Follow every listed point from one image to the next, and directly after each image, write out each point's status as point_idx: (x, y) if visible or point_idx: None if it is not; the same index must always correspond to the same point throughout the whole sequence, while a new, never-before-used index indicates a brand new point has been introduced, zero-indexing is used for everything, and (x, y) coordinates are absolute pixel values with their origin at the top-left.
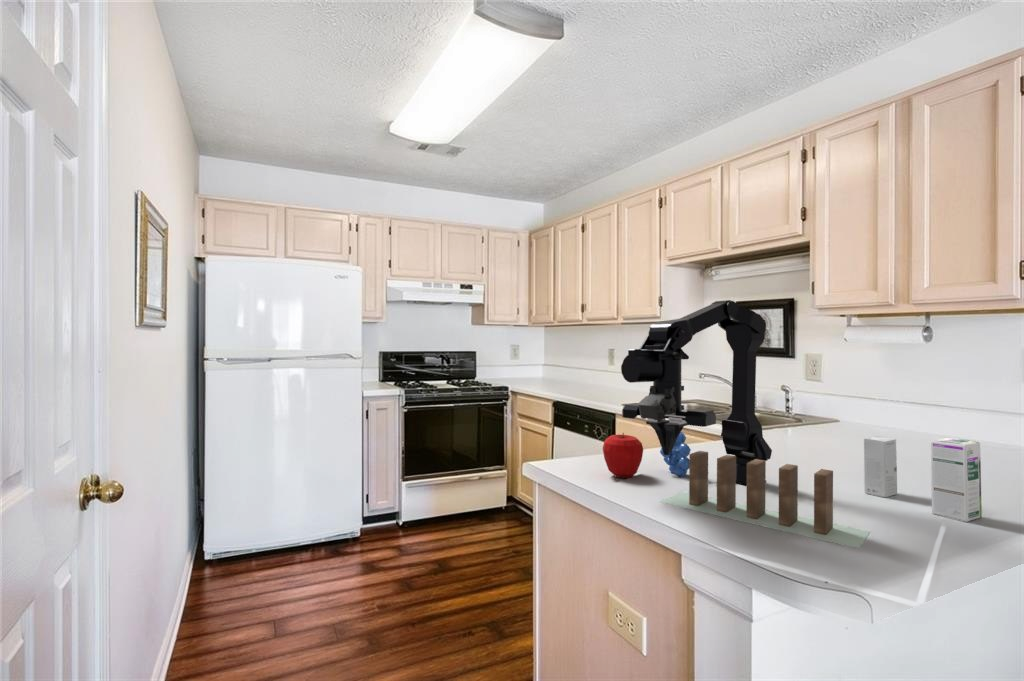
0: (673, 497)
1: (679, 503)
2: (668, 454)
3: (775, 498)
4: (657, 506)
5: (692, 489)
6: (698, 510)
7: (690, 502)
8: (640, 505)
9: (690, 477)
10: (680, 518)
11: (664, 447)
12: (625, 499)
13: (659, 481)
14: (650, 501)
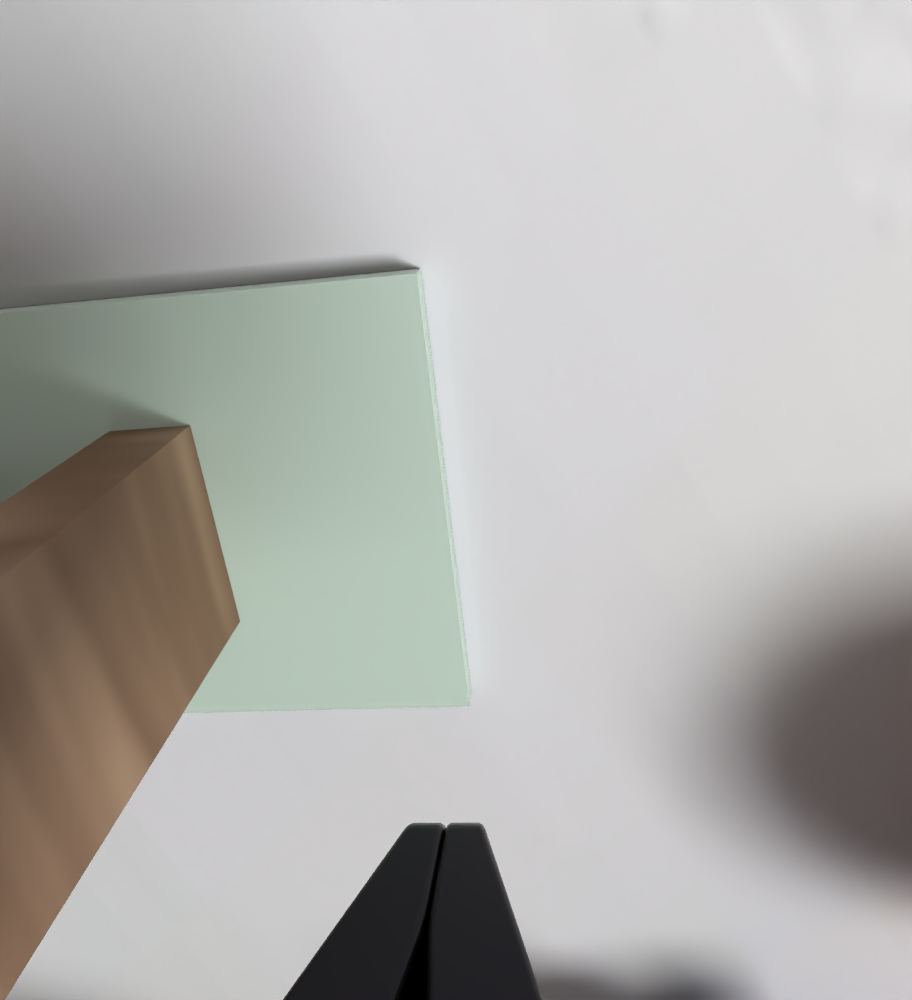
0: (409, 505)
1: (258, 380)
2: (404, 848)
3: (37, 985)
4: (400, 201)
5: (80, 484)
6: (21, 321)
7: (169, 433)
8: (543, 71)
9: (22, 544)
10: (17, 29)
11: (439, 936)
12: (796, 131)
13: (817, 882)
14: (548, 298)
